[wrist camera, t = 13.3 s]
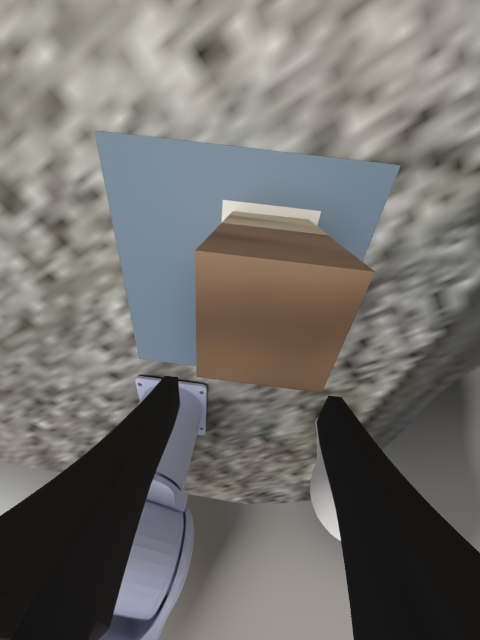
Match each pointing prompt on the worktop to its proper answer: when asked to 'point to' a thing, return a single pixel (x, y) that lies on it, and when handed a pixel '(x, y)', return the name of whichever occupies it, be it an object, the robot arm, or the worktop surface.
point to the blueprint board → (216, 217)
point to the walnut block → (274, 305)
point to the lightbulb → (323, 495)
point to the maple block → (273, 222)
